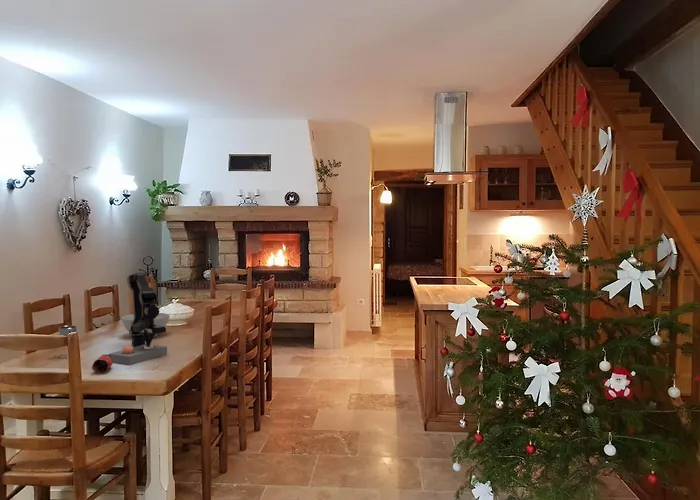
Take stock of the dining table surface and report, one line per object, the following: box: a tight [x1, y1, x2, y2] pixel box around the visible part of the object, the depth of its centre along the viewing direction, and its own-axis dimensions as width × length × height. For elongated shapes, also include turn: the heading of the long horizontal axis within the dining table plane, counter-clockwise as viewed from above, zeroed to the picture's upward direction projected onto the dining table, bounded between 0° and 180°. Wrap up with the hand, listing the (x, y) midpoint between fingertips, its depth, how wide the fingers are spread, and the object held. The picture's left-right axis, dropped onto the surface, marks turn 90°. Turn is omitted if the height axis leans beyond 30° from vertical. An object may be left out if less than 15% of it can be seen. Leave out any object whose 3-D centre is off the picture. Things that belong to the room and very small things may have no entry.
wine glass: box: [58, 325, 78, 359], centre depth 268 cm, size 8×8×15 cm
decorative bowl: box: [121, 312, 171, 338], centre depth 318 cm, size 27×27×12 cm
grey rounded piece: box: [144, 344, 154, 349], centre depth 272 cm, size 4×4×4 cm
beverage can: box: [91, 354, 114, 375], centre depth 243 cm, size 7×12×7 cm, turn 12°
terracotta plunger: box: [122, 345, 133, 354], centre depth 260 cm, size 4×4×4 cm
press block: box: [108, 343, 168, 366], centre depth 266 cm, size 14×24×4 cm, turn 155°
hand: (148, 345), depth 272 cm, fingers closed, pressing on grey rounded piece
